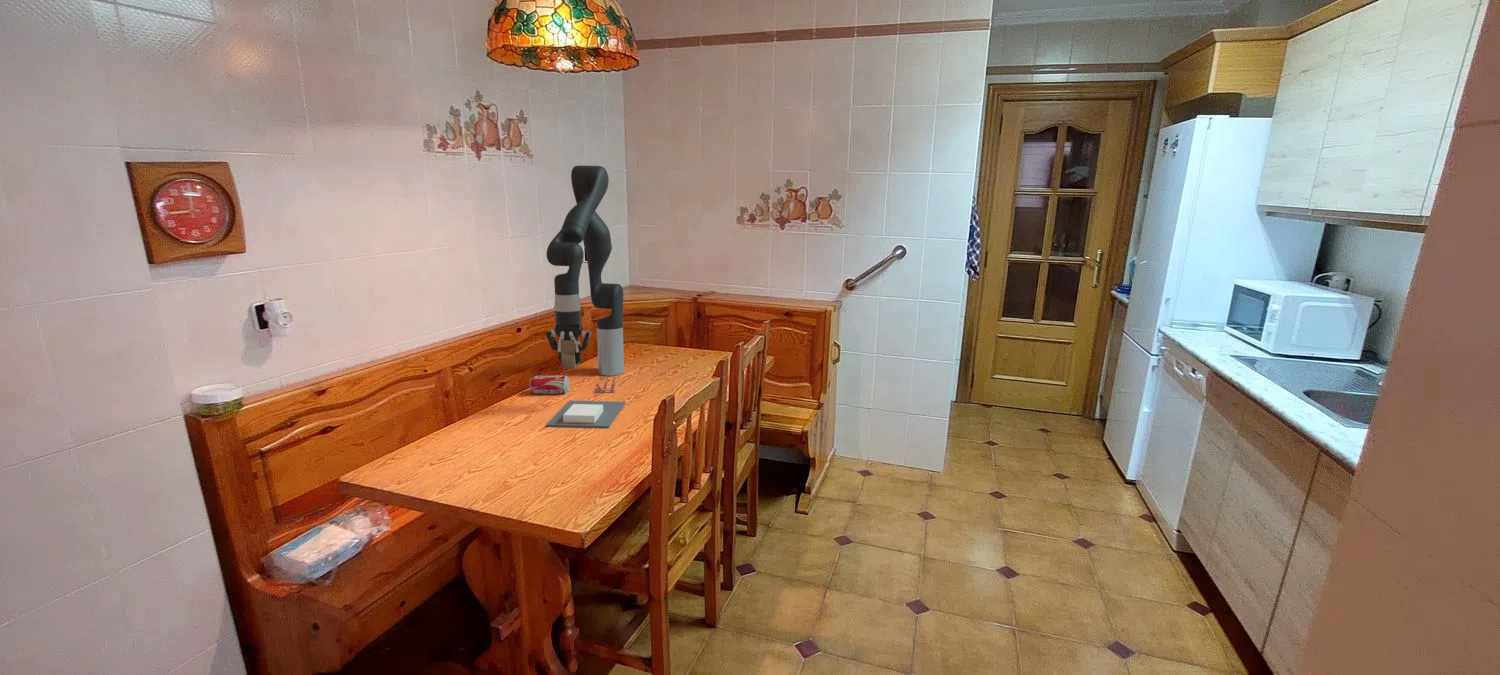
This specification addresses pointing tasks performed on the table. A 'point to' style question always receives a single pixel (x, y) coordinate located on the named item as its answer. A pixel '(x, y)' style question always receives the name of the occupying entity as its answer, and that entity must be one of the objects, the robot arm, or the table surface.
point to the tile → (583, 413)
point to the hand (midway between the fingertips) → (570, 363)
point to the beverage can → (549, 385)
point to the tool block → (568, 354)
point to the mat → (604, 421)
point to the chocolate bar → (604, 387)
